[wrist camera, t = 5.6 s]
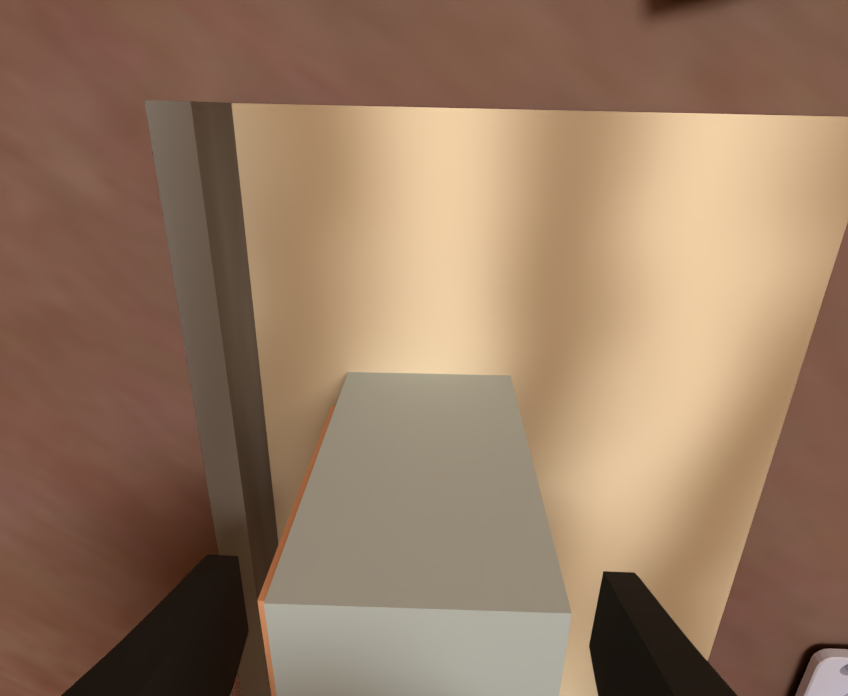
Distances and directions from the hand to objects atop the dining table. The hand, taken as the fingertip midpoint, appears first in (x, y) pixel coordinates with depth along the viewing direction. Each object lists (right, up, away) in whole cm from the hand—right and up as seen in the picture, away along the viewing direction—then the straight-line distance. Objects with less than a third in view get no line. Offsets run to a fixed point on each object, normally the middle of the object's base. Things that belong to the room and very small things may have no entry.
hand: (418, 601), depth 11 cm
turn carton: (0, +2, +4) cm, 4 cm away
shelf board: (+2, -1, +6) cm, 6 cm away
